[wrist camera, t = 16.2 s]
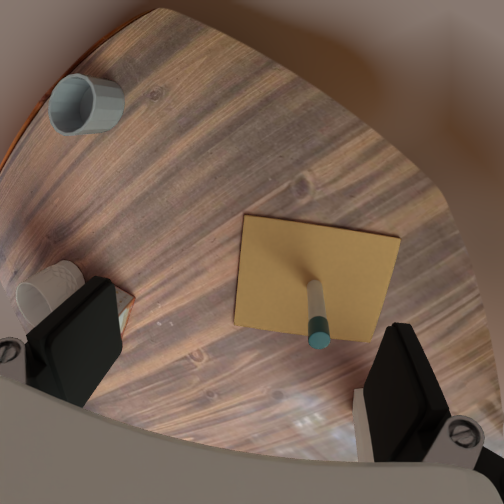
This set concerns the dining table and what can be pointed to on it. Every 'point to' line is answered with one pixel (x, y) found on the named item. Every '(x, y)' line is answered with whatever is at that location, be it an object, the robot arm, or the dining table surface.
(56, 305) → the white cup
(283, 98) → the dining table surface
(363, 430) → the milk
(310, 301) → the marker
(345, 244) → the cork mat
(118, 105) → the pen pot
